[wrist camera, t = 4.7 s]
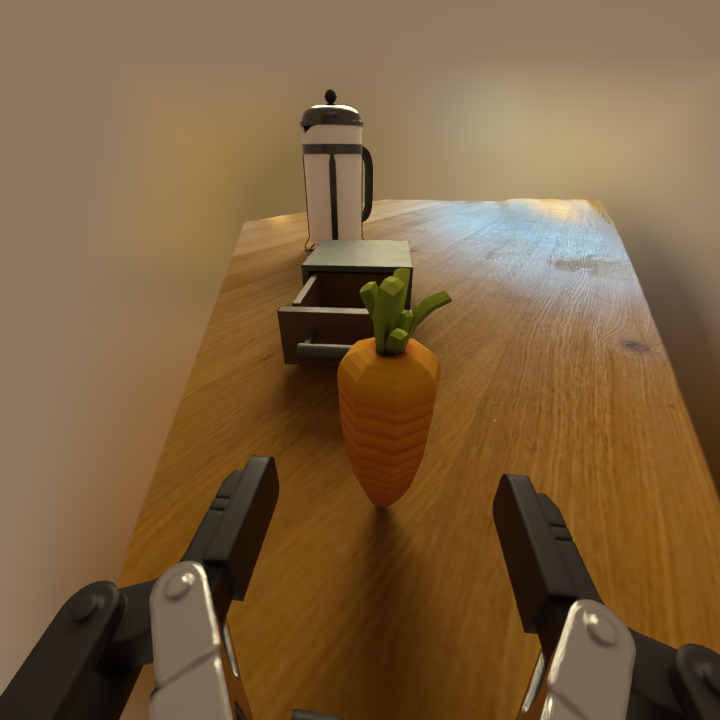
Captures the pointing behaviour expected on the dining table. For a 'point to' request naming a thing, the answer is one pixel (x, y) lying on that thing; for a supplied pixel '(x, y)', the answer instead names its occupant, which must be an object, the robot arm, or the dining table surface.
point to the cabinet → (360, 259)
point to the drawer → (327, 318)
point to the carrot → (389, 391)
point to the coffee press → (335, 172)
